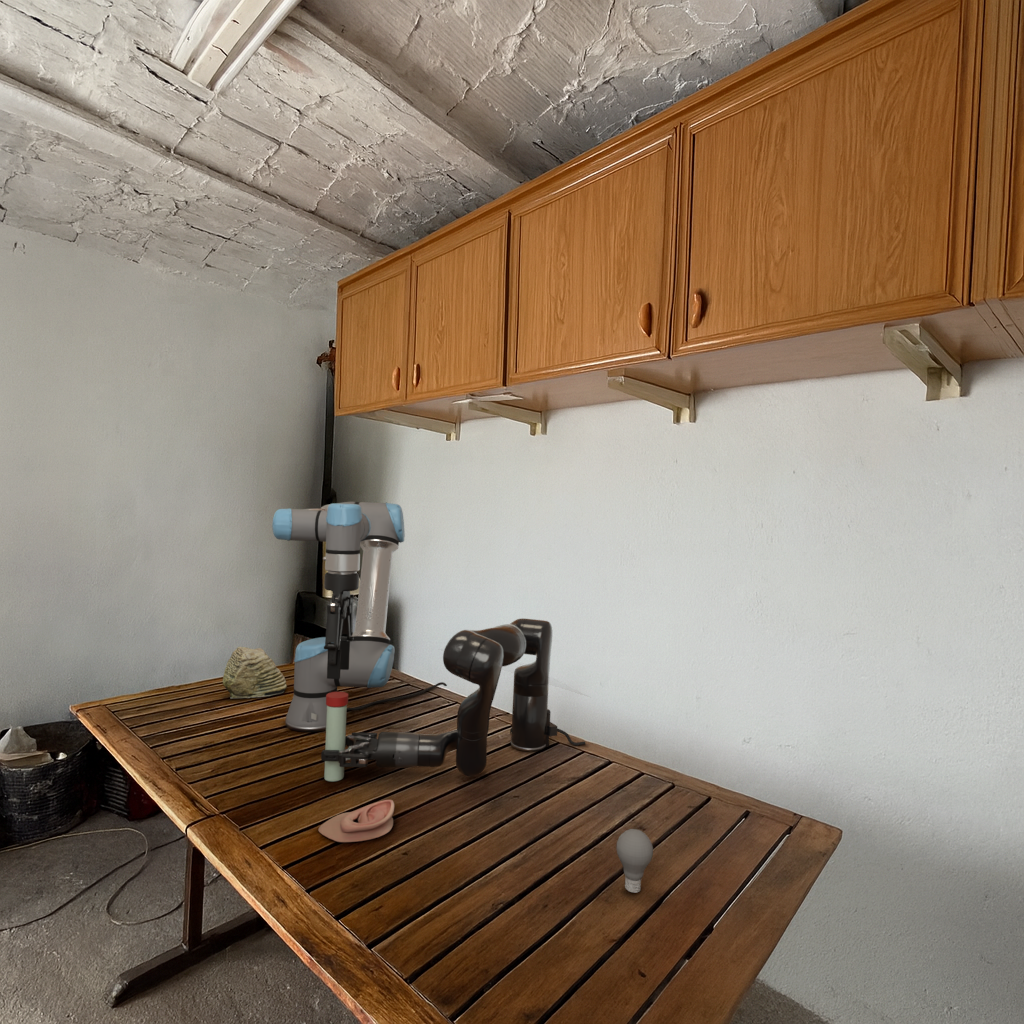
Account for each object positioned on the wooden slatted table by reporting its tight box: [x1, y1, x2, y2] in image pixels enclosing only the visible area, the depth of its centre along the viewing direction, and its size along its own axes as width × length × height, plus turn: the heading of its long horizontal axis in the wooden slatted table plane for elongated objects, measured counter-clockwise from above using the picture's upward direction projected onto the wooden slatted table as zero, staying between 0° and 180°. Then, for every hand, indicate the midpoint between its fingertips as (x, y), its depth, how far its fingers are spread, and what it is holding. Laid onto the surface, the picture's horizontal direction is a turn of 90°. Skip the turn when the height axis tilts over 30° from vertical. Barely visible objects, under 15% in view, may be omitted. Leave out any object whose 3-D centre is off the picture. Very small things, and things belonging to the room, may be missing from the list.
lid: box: [326, 691, 349, 707], centre depth 143 cm, size 5×5×2 cm
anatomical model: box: [317, 799, 395, 843], centre depth 122 cm, size 13×4×12 cm
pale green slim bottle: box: [323, 704, 348, 782], centre depth 143 cm, size 4×4×18 cm
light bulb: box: [615, 828, 654, 894], centre depth 106 cm, size 6×6×10 cm
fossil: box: [222, 646, 288, 699], centre depth 198 cm, size 9×18×15 cm, turn 132°
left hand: (338, 673), depth 143 cm, fingers open, 7 cm apart
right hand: (326, 748), depth 143 cm, fingers open, 7 cm apart
